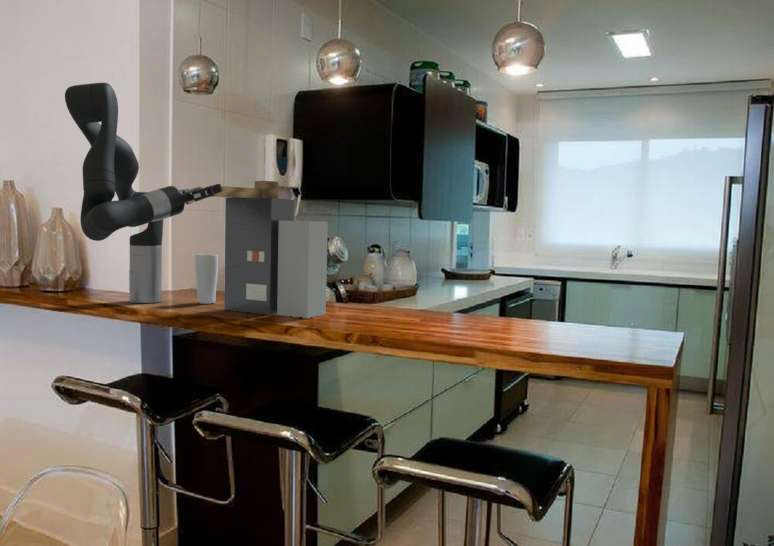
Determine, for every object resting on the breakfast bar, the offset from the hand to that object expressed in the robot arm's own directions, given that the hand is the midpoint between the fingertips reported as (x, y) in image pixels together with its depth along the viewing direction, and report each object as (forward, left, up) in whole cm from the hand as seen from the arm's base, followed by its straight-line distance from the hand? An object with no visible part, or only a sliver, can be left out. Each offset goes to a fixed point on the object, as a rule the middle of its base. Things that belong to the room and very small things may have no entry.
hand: (210, 188), depth 176 cm
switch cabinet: (+14, +1, -34) cm, 37 cm away
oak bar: (+9, +1, -2) cm, 9 cm away
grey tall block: (+23, -10, -34) cm, 42 cm away
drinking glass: (+2, +21, -34) cm, 40 cm away
